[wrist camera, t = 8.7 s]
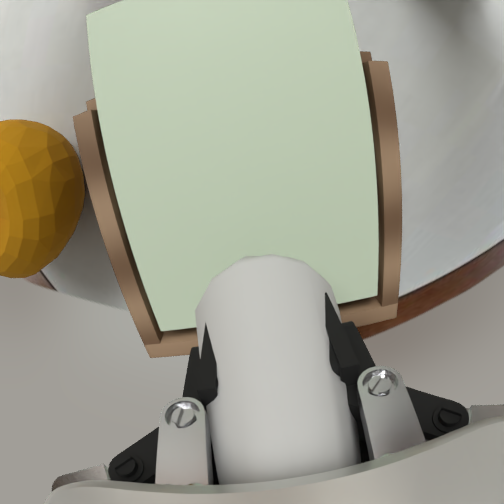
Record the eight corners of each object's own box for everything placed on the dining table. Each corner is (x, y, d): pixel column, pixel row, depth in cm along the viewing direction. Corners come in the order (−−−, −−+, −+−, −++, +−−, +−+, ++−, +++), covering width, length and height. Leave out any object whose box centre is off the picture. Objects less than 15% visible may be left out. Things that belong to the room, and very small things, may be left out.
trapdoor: (124, 39, 17) (86, 15, 11) (313, 6, 16) (338, -31, 10) (177, 283, 25) (161, 331, 19) (346, 254, 24) (377, 295, 18)
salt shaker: (284, 354, 16) (324, 600, 4) (183, 316, 15) (132, 599, 3) (347, 267, 14) (497, 540, 2) (236, 212, 13) (238, 639, 1)
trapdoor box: (131, 106, 23) (70, 100, 13) (330, 72, 22) (384, 44, 12) (175, 285, 29) (150, 357, 20) (350, 255, 29) (396, 317, 19)
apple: (54, 264, 28) (-6, 323, 17) (-7, 173, 23) (-80, 203, 13) (133, 191, 26) (73, 236, 15) (62, 87, 21) (-20, 81, 11)
